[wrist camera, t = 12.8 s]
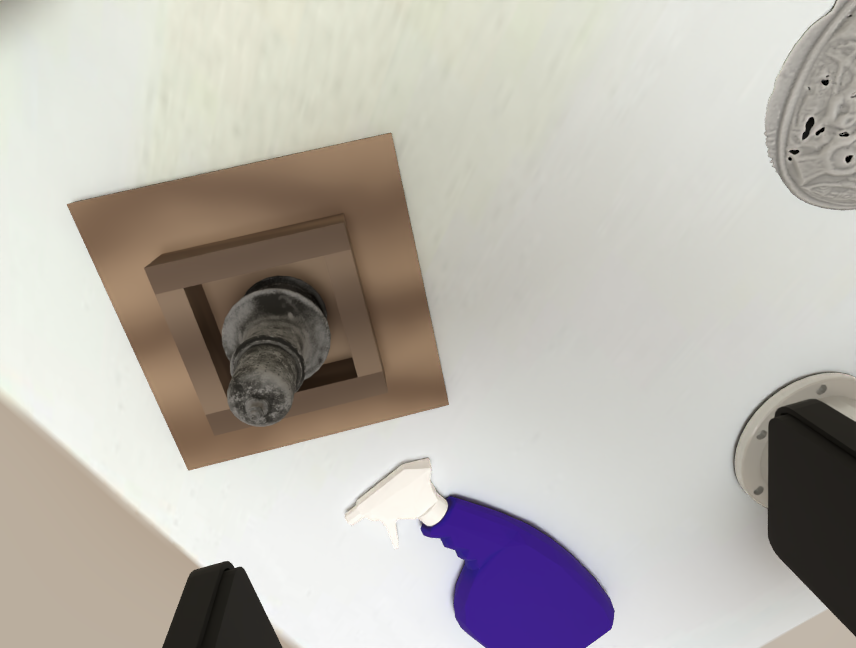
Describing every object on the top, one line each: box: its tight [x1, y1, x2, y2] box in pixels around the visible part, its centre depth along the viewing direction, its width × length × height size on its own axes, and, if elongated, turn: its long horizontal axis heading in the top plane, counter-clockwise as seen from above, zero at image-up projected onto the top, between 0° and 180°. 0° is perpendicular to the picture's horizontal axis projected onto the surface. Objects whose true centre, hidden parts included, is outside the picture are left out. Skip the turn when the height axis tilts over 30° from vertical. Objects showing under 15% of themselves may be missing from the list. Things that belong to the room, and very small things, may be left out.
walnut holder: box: [67, 133, 449, 470], centre depth 32 cm, size 18×18×4 cm
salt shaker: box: [222, 276, 331, 427], centre depth 28 cm, size 6×6×12 cm
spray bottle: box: [345, 458, 615, 648], centre depth 43 cm, size 3×11×24 cm
